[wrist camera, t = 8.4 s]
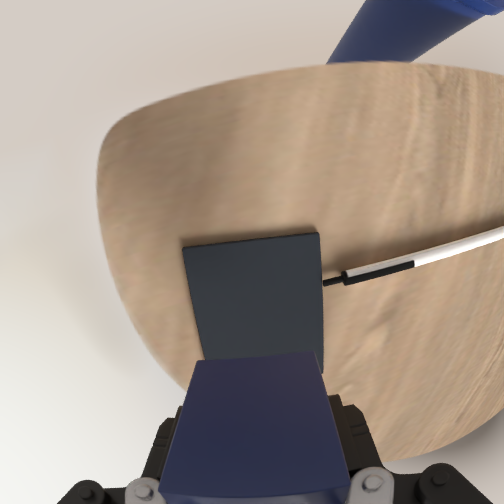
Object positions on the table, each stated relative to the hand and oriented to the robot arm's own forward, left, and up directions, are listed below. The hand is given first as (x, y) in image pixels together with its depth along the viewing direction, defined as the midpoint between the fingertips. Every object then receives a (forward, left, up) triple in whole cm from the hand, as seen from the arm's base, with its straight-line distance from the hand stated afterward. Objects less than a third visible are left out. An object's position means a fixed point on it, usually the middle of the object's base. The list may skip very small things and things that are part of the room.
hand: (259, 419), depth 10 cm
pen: (-3, +14, -9) cm, 16 cm away
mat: (0, 0, -9) cm, 9 cm away
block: (0, 0, -1) cm, 1 cm away
